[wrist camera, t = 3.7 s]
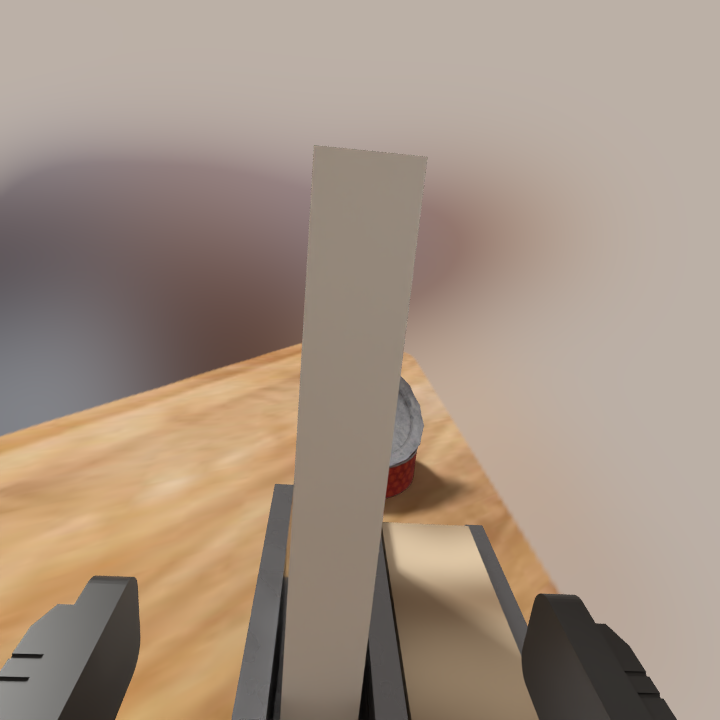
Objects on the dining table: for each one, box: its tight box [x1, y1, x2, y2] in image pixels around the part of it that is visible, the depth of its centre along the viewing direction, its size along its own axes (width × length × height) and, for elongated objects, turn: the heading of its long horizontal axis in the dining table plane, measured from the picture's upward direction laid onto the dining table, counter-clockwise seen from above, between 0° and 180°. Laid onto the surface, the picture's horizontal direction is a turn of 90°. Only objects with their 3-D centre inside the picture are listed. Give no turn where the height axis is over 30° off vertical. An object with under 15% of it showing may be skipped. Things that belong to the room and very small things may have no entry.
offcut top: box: [381, 522, 539, 720], centre depth 22 cm, size 12×5×2 cm, turn 3°
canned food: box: [385, 376, 424, 499], centre depth 44 cm, size 11×10×10 cm
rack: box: [232, 484, 528, 720], centre depth 22 cm, size 15×12×8 cm
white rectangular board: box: [280, 145, 427, 720], centre depth 19 cm, size 9×2×22 cm, turn 3°
